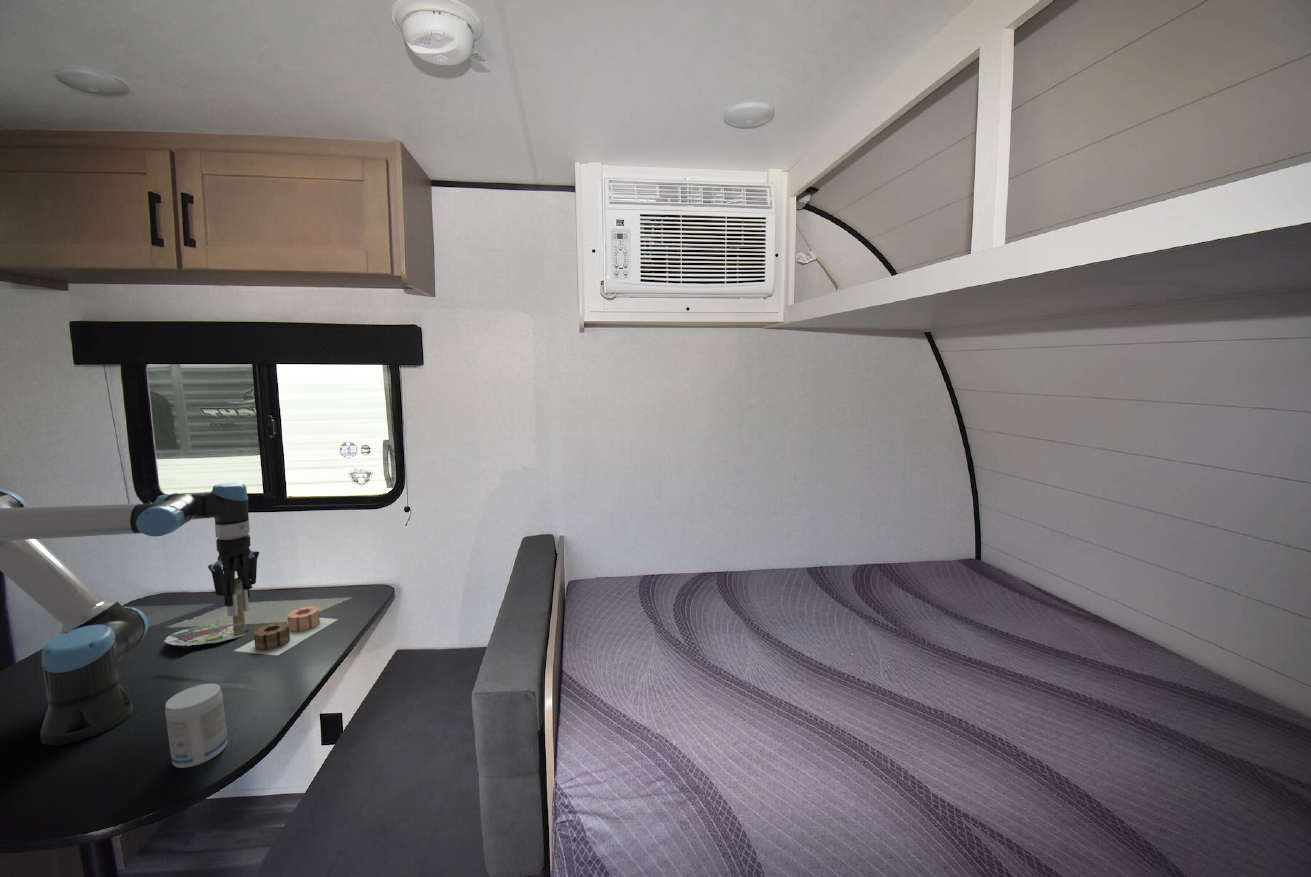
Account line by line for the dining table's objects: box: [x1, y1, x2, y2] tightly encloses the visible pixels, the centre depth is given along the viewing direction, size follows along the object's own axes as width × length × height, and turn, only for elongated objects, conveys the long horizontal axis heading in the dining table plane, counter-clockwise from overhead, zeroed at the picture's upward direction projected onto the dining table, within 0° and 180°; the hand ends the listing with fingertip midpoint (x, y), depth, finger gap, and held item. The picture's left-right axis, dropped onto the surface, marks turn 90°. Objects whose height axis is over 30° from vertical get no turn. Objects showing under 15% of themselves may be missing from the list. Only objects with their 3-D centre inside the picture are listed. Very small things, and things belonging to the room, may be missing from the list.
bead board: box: [233, 617, 339, 656], centre depth 165 cm, size 24×16×1 cm, turn 171°
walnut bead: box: [253, 621, 290, 651], centre depth 159 cm, size 9×9×5 cm
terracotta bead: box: [287, 605, 320, 632], centre depth 171 cm, size 9×9×5 cm
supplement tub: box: [164, 683, 228, 769], centre depth 113 cm, size 10×10×15 cm
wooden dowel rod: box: [232, 577, 246, 637], centre depth 145 cm, size 3×3×17 cm
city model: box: [163, 620, 249, 651], centre depth 165 cm, size 25×23×6 cm
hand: (238, 612), depth 145 cm, fingers closed on wooden dowel rod, 2 cm apart
